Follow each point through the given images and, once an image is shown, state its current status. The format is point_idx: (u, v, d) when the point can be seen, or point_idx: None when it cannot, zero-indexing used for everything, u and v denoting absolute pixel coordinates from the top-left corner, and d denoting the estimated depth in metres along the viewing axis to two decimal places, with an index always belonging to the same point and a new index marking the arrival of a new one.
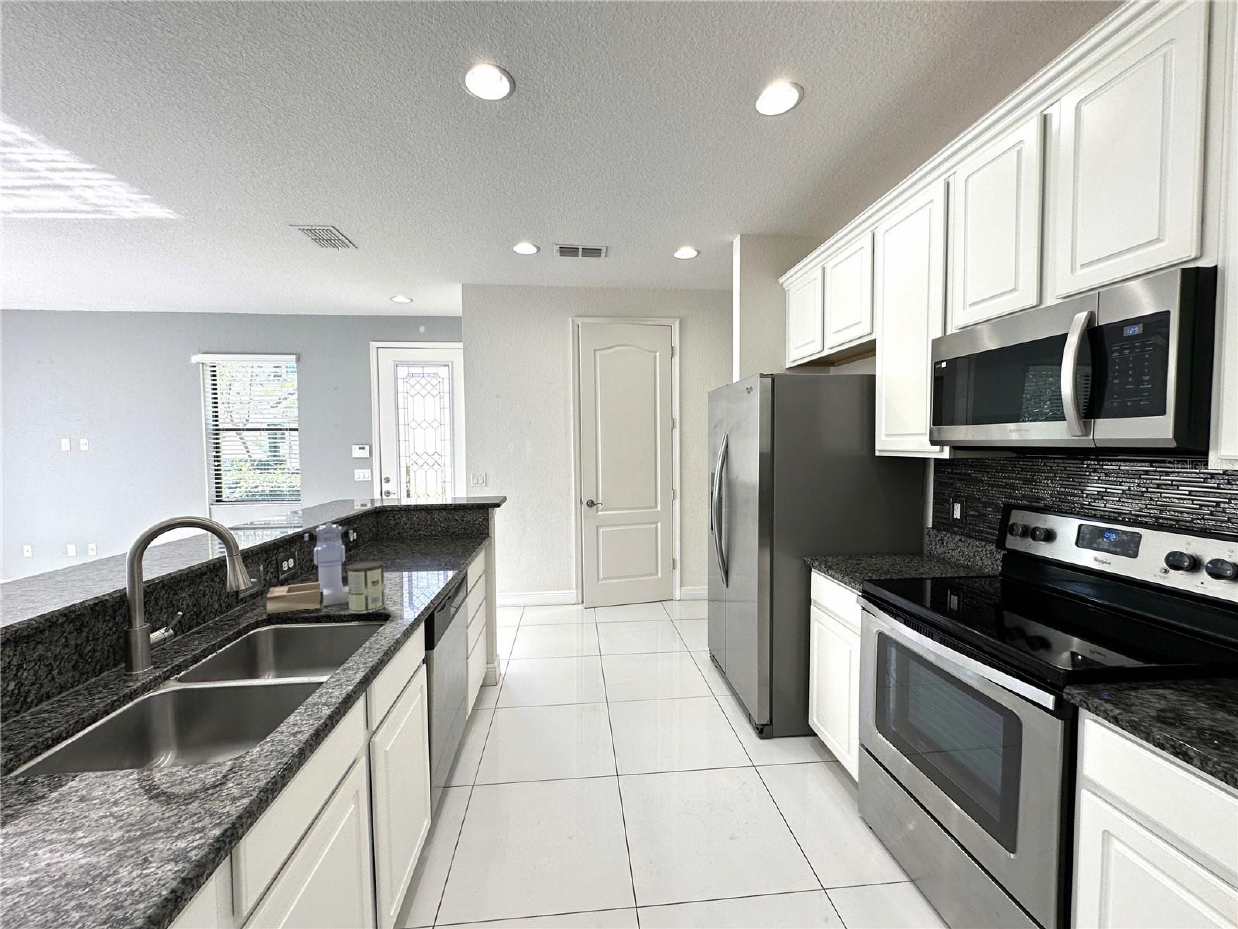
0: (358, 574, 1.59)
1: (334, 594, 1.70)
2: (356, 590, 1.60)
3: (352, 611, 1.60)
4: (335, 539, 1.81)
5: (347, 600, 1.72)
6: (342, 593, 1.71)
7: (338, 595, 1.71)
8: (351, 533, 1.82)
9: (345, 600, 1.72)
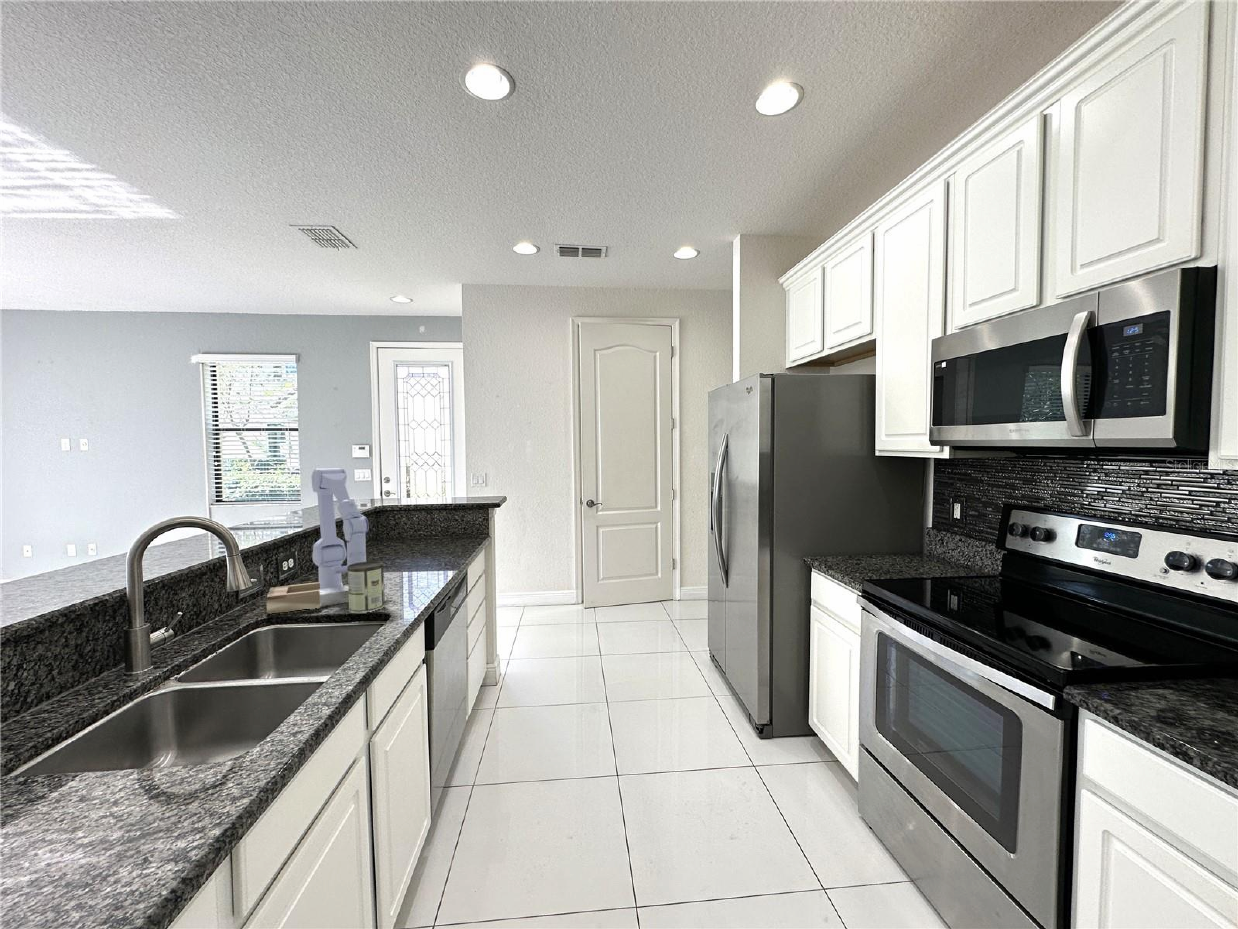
0: (358, 574, 1.59)
1: (331, 594, 1.70)
2: (356, 590, 1.60)
3: (352, 611, 1.60)
4: None
5: (344, 600, 1.72)
6: (339, 593, 1.71)
7: (335, 595, 1.70)
8: None
9: (342, 600, 1.71)
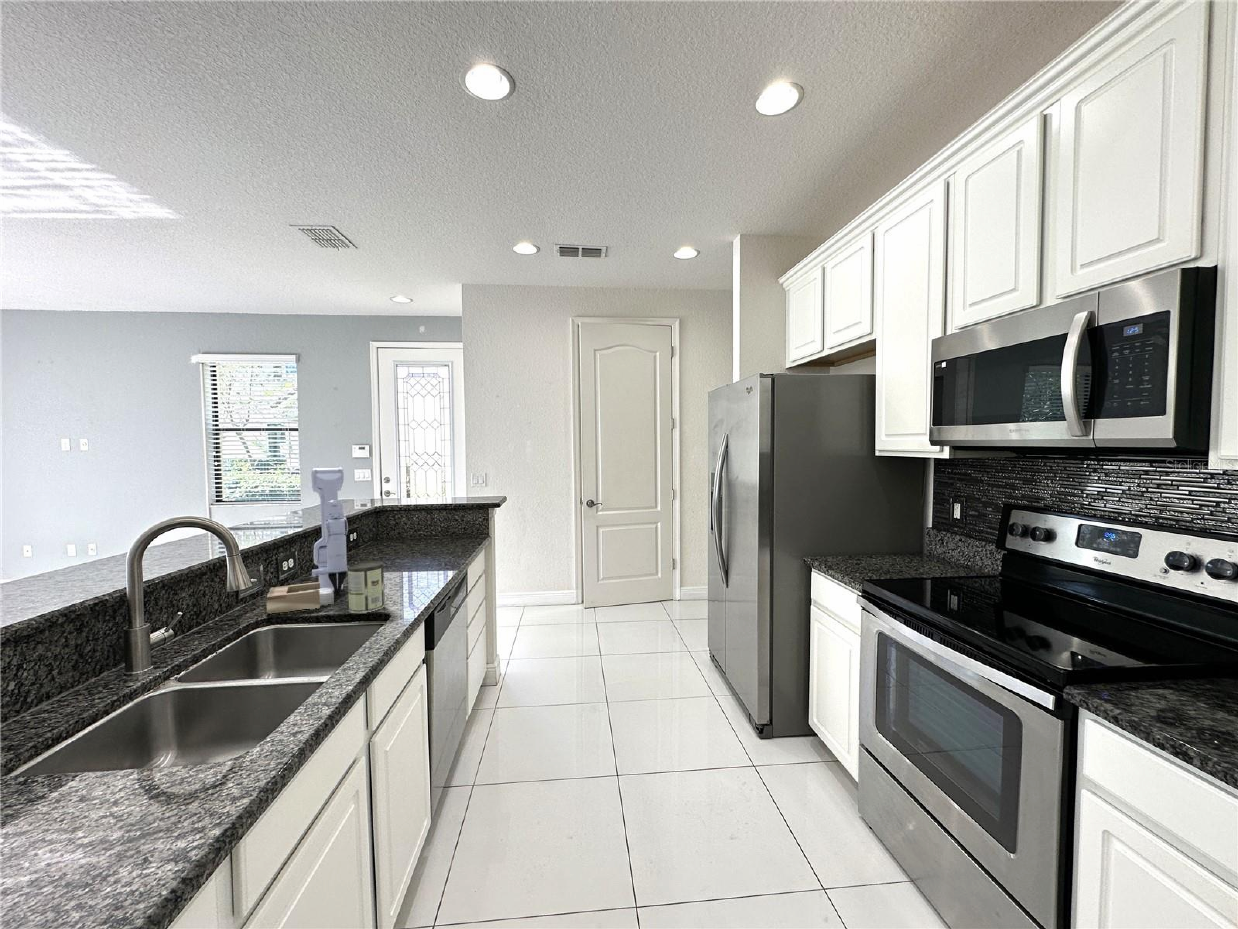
0: (358, 574, 1.59)
1: None
2: (356, 590, 1.60)
3: (352, 611, 1.60)
4: None
5: (322, 602, 1.69)
6: None
7: None
8: None
9: (320, 602, 1.68)
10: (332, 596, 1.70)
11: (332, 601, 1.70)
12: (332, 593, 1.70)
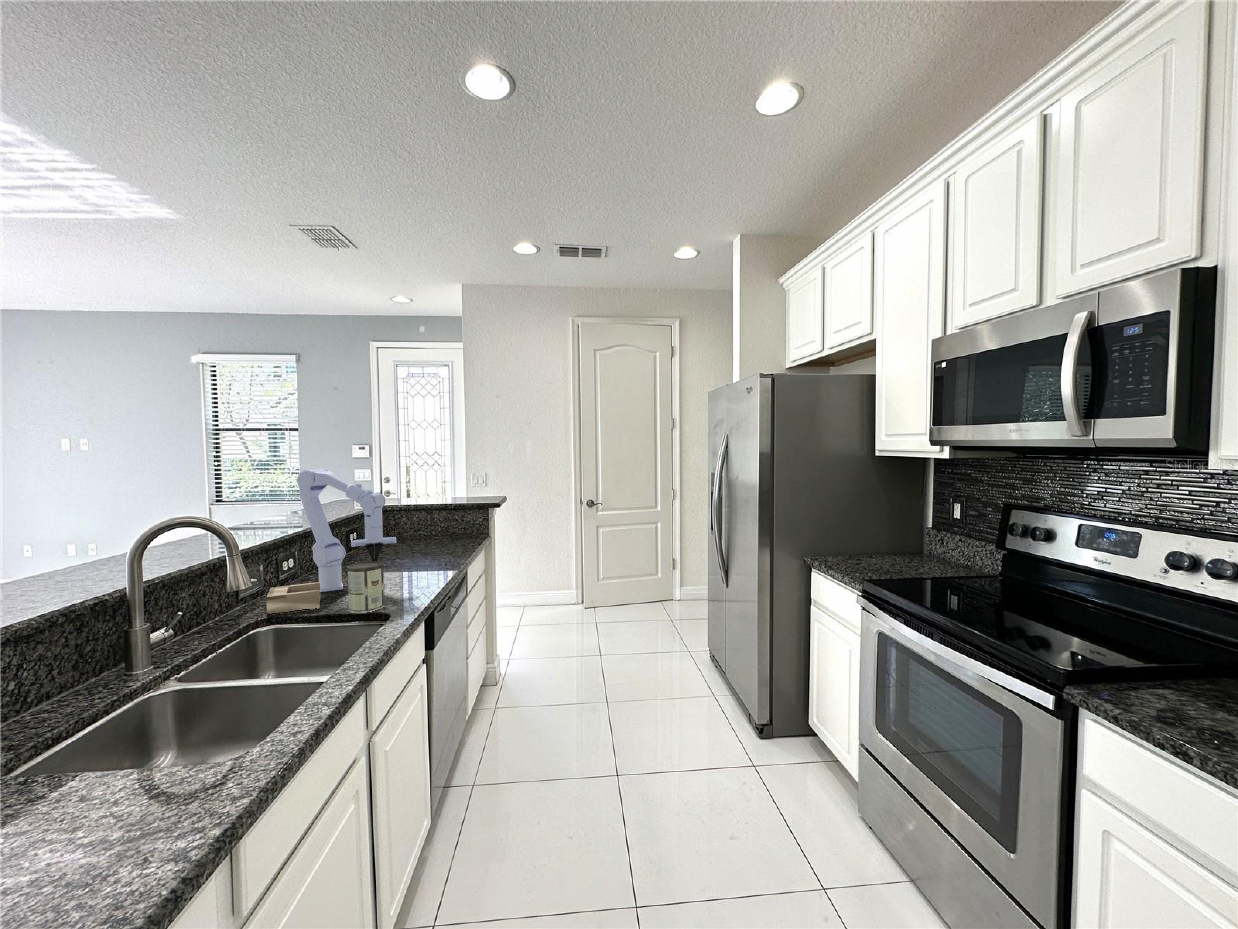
0: (358, 574, 1.59)
1: None
2: (356, 590, 1.60)
3: (352, 611, 1.60)
4: None
5: None
6: None
7: None
8: None
9: None
10: None
11: None
12: None
